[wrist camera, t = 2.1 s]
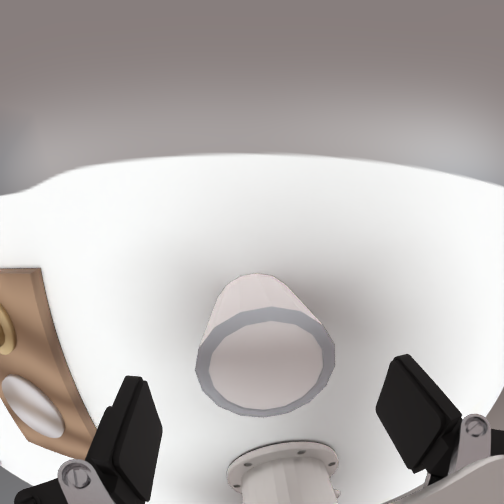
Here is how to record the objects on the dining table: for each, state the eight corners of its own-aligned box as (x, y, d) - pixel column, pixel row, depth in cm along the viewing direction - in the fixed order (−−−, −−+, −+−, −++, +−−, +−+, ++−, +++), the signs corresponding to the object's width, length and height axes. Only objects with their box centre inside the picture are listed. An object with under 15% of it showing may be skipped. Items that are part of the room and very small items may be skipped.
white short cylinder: (299, 350, 20) (324, 413, 13) (207, 352, 20) (200, 418, 13) (307, 264, 19) (347, 304, 12) (204, 263, 18) (189, 306, 11)
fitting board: (114, 459, 23) (103, 491, 17) (32, 434, 22) (17, 458, 17) (40, 268, 17) (-1, 289, 12) (-38, 268, 16) (-69, 283, 11)
